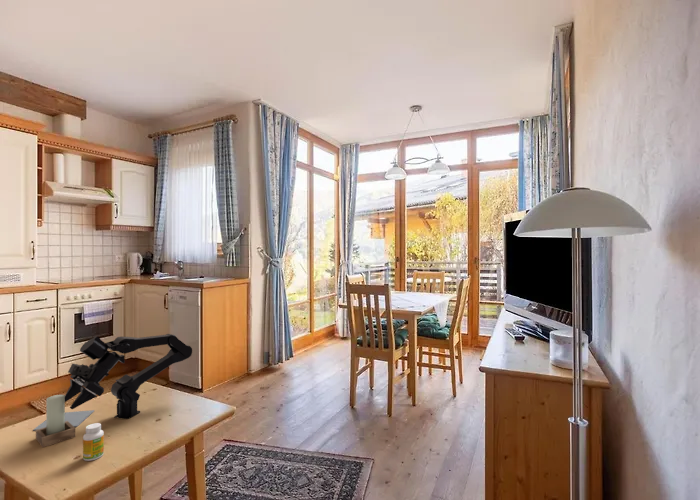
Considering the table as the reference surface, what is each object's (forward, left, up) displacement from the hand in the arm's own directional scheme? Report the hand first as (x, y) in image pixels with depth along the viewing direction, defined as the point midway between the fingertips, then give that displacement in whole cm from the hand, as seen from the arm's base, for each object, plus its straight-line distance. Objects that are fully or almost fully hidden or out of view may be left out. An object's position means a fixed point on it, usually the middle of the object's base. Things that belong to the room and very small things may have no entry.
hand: (66, 405), depth 132 cm
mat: (+11, -9, -10) cm, 17 cm away
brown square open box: (+2, +3, -10) cm, 11 cm away
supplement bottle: (-21, +11, -10) cm, 26 cm away
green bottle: (+2, +3, -10) cm, 11 cm away
